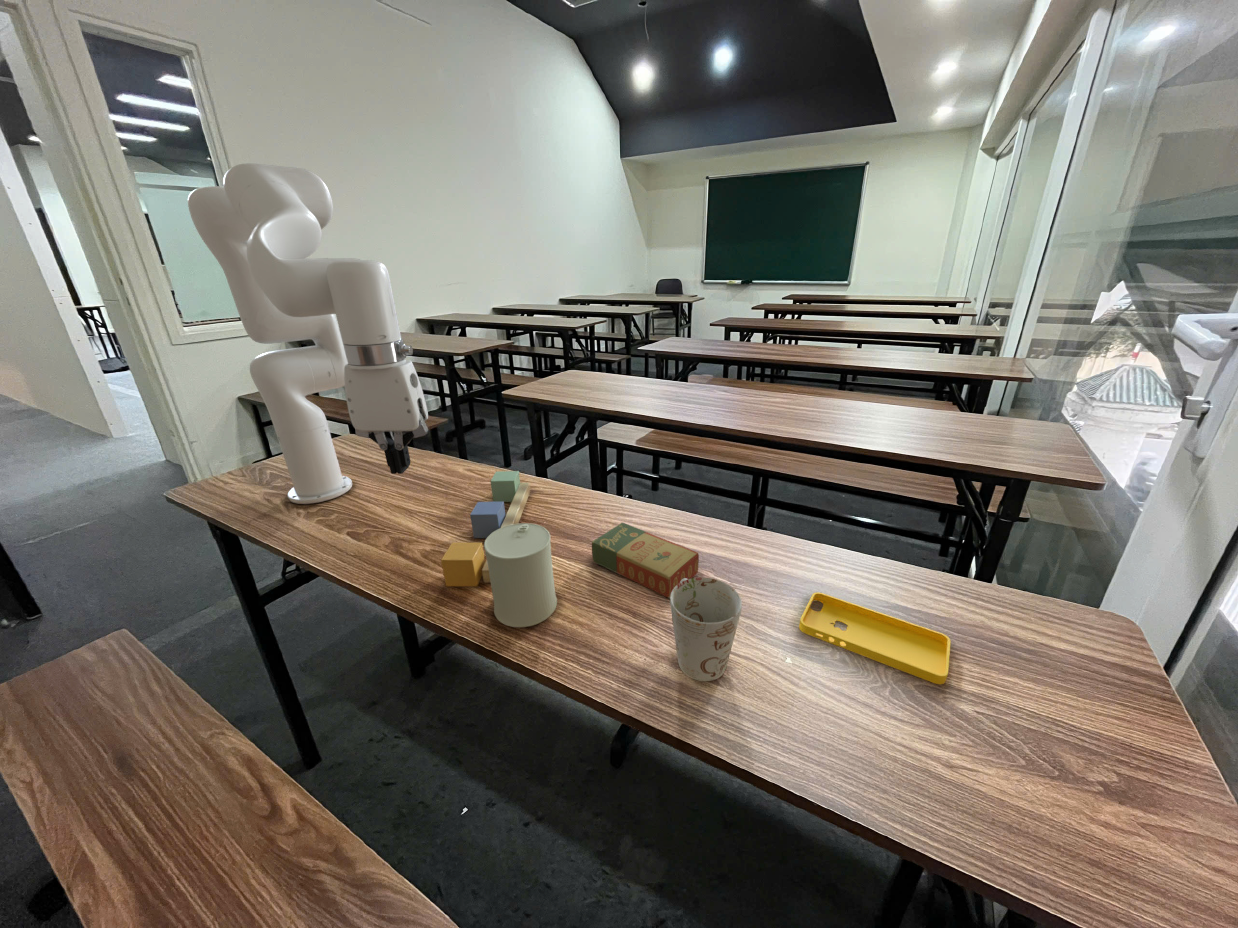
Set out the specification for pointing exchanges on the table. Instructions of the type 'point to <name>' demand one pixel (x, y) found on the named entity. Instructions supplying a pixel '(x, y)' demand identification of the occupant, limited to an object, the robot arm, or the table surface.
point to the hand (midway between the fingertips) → (400, 470)
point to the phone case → (879, 637)
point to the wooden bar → (511, 517)
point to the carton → (645, 558)
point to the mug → (704, 625)
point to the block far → (505, 485)
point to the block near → (463, 564)
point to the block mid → (487, 518)
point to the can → (521, 574)
